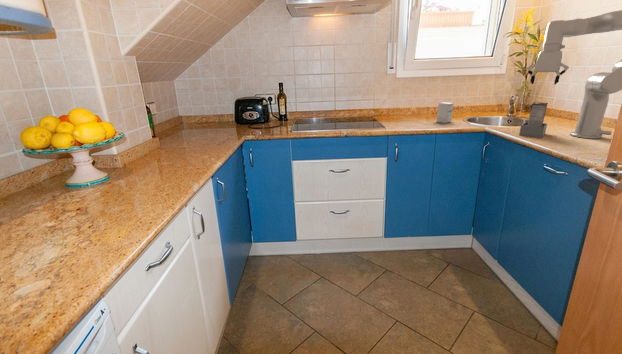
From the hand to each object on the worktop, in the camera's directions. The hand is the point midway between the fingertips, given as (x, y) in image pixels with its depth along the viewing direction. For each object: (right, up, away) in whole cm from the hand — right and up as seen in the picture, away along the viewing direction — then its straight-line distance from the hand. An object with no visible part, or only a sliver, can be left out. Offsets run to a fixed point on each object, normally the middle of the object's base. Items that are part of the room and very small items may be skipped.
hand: (543, 84), depth 160 cm
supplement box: (-30, -10, +51) cm, 60 cm away
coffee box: (+1, -24, +8) cm, 26 cm away
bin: (0, -25, +9) cm, 26 cm away
